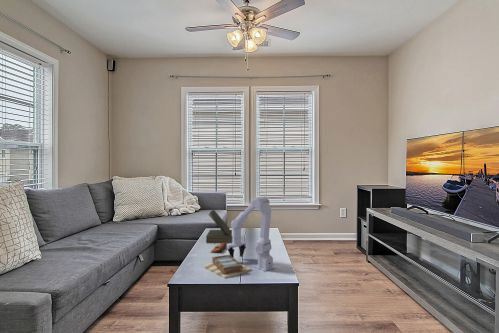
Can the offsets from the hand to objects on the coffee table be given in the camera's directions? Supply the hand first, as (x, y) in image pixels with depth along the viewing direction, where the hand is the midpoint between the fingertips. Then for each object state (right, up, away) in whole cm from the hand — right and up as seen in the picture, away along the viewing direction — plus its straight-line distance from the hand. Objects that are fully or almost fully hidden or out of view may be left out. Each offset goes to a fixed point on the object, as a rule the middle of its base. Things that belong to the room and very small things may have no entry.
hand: (236, 257), depth 197 cm
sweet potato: (-14, -2, +25) cm, 29 cm away
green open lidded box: (-17, -2, +54) cm, 56 cm away
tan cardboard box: (-5, -1, -15) cm, 16 cm away
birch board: (-5, -2, -15) cm, 16 cm away
